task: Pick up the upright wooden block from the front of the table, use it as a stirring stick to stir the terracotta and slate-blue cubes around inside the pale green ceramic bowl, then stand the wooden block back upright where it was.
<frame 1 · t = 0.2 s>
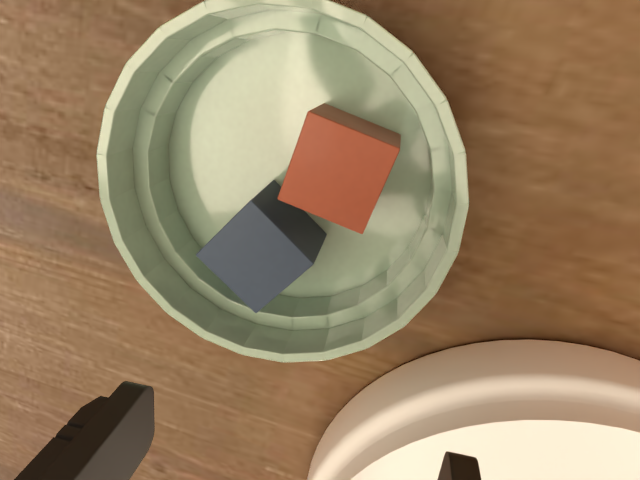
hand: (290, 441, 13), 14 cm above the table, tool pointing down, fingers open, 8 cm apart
bowl: (296, 175, 25), on the table
slate cube: (275, 230, 25), point 1 cm above the table, touching bowl
terracotta cube: (347, 157, 23), point 1 cm above the table, touching bowl
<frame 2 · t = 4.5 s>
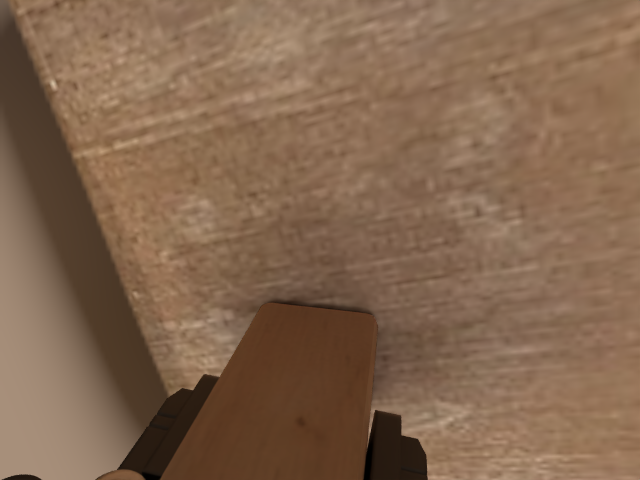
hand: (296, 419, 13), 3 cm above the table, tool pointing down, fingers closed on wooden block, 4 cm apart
wooden block: (318, 350, 17), on the table, touching gripper
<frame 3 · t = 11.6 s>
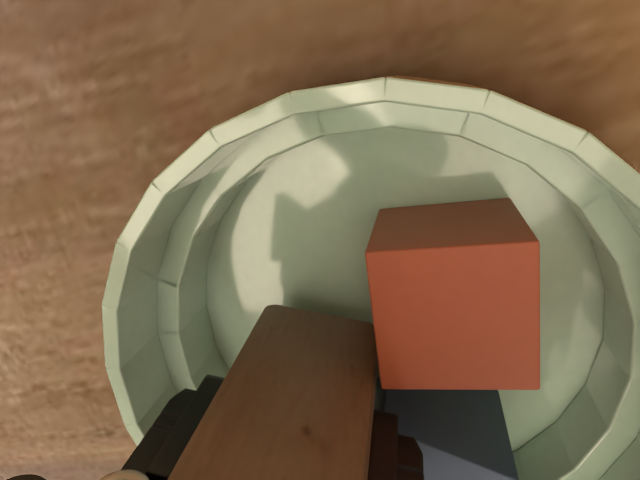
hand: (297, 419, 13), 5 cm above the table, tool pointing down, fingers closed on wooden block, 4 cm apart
wooden block: (317, 354, 17), point 1 cm above the table, touching gripper, slate cube
bowl: (389, 311, 17), on the table
slate cube: (423, 411, 17), point 1 cm above the table, touching bowl, gripper, wooden block
terracotta cube: (446, 262, 15), point 1 cm above the table, touching bowl
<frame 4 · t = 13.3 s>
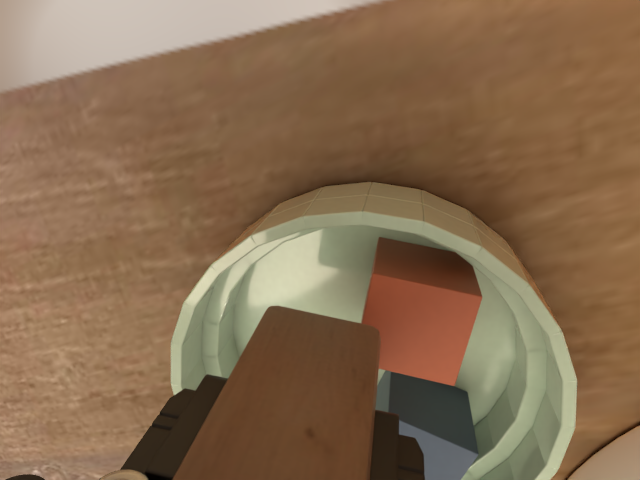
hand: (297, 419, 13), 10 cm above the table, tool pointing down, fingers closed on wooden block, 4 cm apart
wooden block: (317, 356, 17), point 6 cm above the table, touching gripper
bowl: (368, 337, 23), on the table
slate cube: (412, 404, 24), point 1 cm above the table, touching bowl
terracotta cube: (413, 285, 21), point 1 cm above the table, touching bowl
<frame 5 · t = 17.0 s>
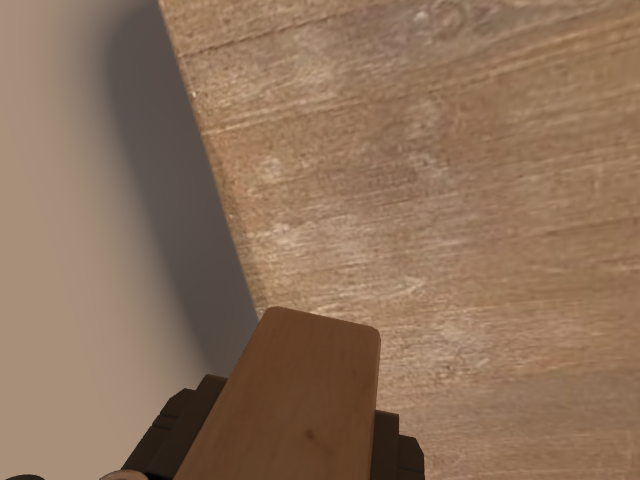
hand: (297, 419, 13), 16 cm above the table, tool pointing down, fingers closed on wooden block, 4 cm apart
wooden block: (317, 357, 17), point 12 cm above the table, touching gripper
when the fingers open (3 cm above the table, at t = 20.2 s): wooden block stays where it is, on the table.
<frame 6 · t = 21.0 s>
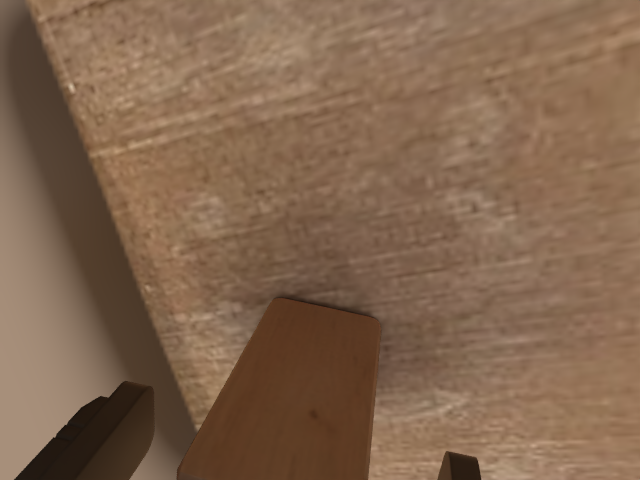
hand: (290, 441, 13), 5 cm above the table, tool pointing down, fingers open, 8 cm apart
wooden block: (320, 347, 18), on the table
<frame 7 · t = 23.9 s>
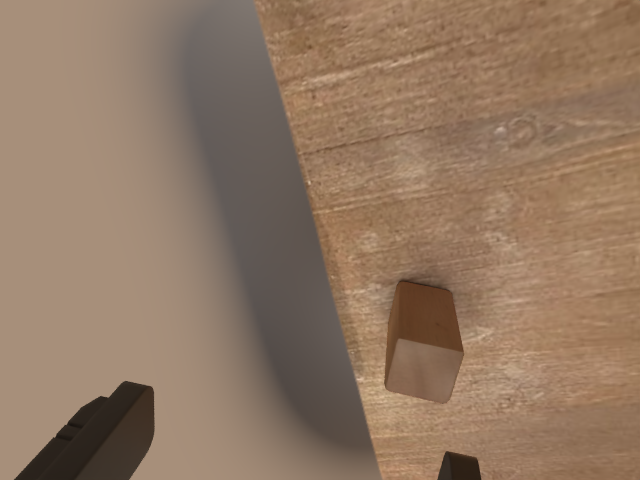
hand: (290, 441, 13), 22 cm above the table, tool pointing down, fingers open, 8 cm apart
wooden block: (419, 306, 35), on the table
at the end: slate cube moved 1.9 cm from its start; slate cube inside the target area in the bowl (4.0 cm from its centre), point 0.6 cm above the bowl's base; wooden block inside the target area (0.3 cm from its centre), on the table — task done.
